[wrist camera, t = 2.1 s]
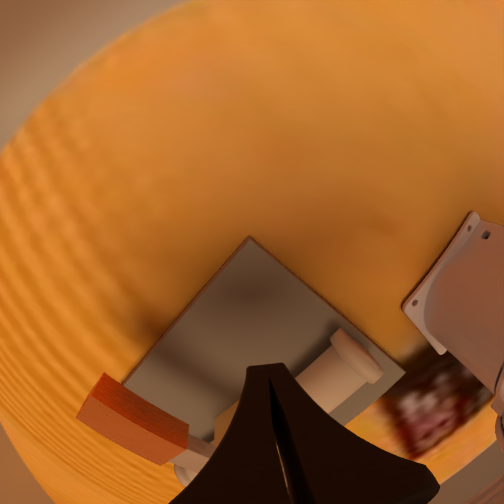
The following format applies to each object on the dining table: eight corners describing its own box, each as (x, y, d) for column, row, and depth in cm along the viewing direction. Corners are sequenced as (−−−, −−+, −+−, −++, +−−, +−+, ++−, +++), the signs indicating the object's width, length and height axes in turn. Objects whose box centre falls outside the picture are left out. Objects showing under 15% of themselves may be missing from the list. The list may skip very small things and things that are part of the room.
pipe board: (248, 235, 15) (257, 265, 10) (399, 365, 19) (433, 407, 13) (104, 404, 18) (83, 451, 13) (251, 474, 21) (256, 516, 16)
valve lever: (299, 462, 13) (306, 486, 11) (270, 479, 13) (274, 502, 11) (107, 366, 10) (92, 394, 8) (88, 392, 11) (75, 418, 9)
